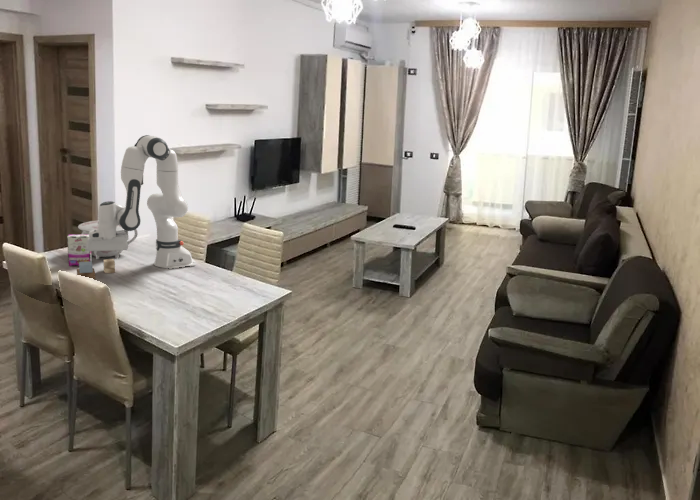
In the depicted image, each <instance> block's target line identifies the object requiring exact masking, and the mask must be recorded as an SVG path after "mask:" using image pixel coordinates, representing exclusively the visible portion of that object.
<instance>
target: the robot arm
mask: <svg viewBox="0 0 700 500" xmlns="http://www.w3.org/2000/svg"><path fill="white" fill-rule="evenodd" d="M168 146H169V145H168V144H167V142H166V141H165V140H164V139H163V138H160V137H158V136H154V135H149V134H148V135H147V134H146V135H141V137H139V138H138V140H137V141H136V142H135V143H134V145H132V146H129V147H127V148H126V149H125V152H124V154H123V158H122V162H121V169H120V179H121V182H122V184H123V185H124V187H125V191H126V200H125V206H123V205H120V204H117V203H116V202H115V201H112V200H111V201H109V200H108V201H104V202H101V203H100V204H99V206H98V210H97V211H98V213H97V220H99V225H98V229H95V230H92V231H89V237H88V238H87V243H86V249H87V250H88V251H94V254H95V255H96V256H95V259H96V260H100V257H99V255H97V254H96V253H97V251H115V250H118V253H117V255H115V256H114V257H115V259H116V260H117V259H119V258H120V257H119V256H120V254H121V253H122V252H121V250H123V251H127V250H128V249H129V245H128V241H129V233H128V234H127V235H125V234H126V233H116V226H117V225H120V226H121V227H122V228H123V229H124V230H126V231H128V232H133V231H134V230H135V229H137V230H138V228H139V226H140V225H141V216H140V211H139V208H140V201H141V200H140V199H141V198H140V197H141V189H142V181H143V179H144V171H145V166H146V165H145V164H146V161H147V160H148V159H149V158H153V159H155V161H156V185H157V186H158V188H159V189H160V191H161V193H151V194H150V195H149V196H148V197H147V200H146V201H147V202H146V205H147V208H148V209H149V210H150V212H151V213H152V216H153V219H154V222H155V225H156V226H155V227H156V239H155V249H156V254H155V259H154V263H153V264H154V266H155V267H158V268H164V269H168V268H169V269H168V270H173V269H172V268H174V269H180V268H179V267H182V268H186V267H185V266H190V267H195V266H197V262H196V259H193V257H192V253H191V252H190V251H189V250H188V249H186V248H185V247H184V245H185V244H184V241H182V240H180V239H179V236H178V235H179V234H178V232H179V231H178V230H179V227H178V224H177V223H176V222H175V220H174V219H173V218H183V217H184V216H185V215H187V213H188V209H189V206H188V203H187V201H186V200H185V199H184V197H183V196H182V192H181V190H180V185H179V163H178V157H177V156H178V155H177V153H176V151H174V150H173V149H171V148H169V147H168Z"/></svg>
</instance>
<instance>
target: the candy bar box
mask: <svg viewBox="0 0 700 500" xmlns="http://www.w3.org/2000/svg"><path fill="white" fill-rule="evenodd" d="M88 237H89V235H81V234H68V235H67V237H66V244H67V261H68V267H79V262H90V261H93V258H92V254H91V251H88V250H87V249H86V243H87V238H88Z"/></svg>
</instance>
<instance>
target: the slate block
mask: <svg viewBox="0 0 700 500" xmlns="http://www.w3.org/2000/svg"><path fill="white" fill-rule="evenodd" d="M92 261H93V260H92ZM92 261H90V262H79V266H78V269H79V271H80V273H92V272H93V268H94V267H93V262H92Z"/></svg>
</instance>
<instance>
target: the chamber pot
mask: <svg viewBox="0 0 700 500" xmlns="http://www.w3.org/2000/svg"><path fill="white" fill-rule="evenodd" d="M98 225H99V220H98V219H97V220H90V221H86V222H83V223H80V224H78V226H77V228H78V229H79V230H81V234H80V235H89V231H92V230H95V229H98ZM133 231H134V235H133V237H132V238H131V239H130V240H127V242H128V246H129V245H130V244H132V243H133V242H134V241H135V240H136V239H137V238H138V228H137V229H135V230H133ZM116 233H126V234H125V235H127V234H128V235H129V231H126V230H124V229H123V228H122V227H121V226H120V225H117V226H116ZM123 251H124V250H121V253H122V252H123ZM117 253H118V250H115V251H97V253H96V254H97V255H99V258H113V257H115V255H117ZM91 254H92V256H93V257H96V255H95V254H94V251H91Z"/></svg>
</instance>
